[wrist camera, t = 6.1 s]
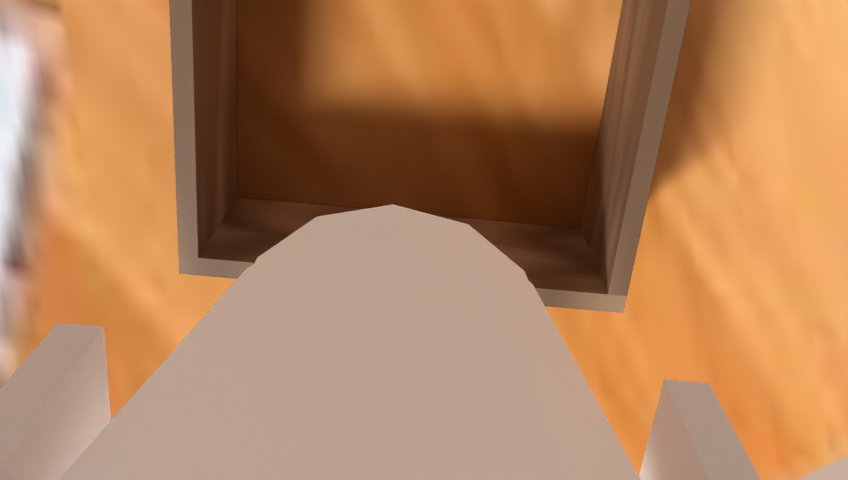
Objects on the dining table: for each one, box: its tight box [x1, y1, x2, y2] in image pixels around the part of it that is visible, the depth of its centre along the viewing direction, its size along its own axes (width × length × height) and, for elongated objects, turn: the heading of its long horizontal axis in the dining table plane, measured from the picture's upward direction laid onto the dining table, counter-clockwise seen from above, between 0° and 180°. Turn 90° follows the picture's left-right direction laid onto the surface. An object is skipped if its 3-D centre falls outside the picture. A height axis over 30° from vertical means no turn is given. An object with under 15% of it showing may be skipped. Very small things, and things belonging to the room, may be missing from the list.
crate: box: [169, 0, 691, 313], centre depth 34 cm, size 19×14×7 cm
